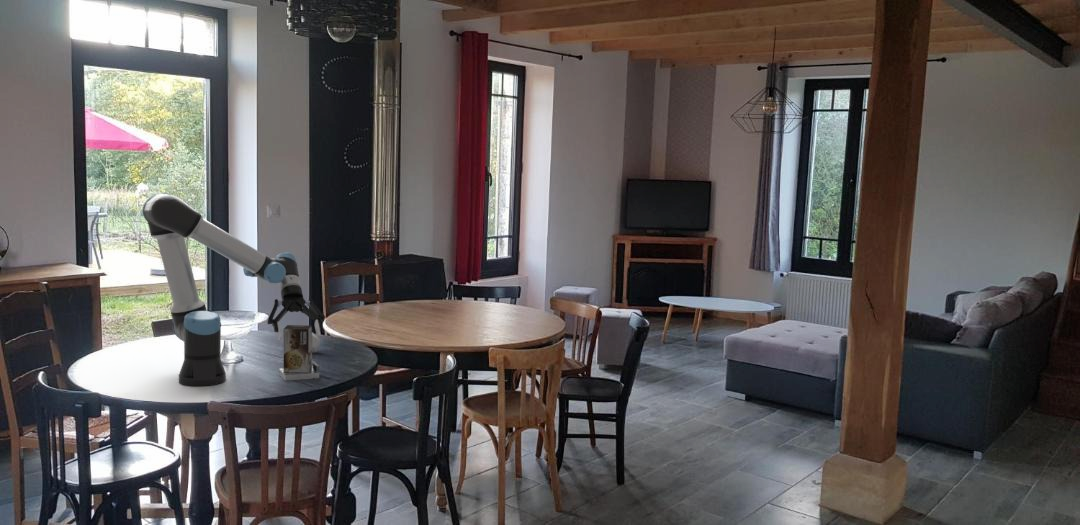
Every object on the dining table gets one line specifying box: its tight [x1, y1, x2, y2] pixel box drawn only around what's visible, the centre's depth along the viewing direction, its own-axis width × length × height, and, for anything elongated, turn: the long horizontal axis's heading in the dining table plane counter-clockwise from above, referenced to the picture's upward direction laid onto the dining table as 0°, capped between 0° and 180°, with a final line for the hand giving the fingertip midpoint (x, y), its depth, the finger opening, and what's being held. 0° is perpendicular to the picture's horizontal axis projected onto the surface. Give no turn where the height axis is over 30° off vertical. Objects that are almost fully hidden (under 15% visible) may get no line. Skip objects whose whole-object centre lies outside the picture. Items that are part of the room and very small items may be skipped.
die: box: [312, 332, 321, 354], centre depth 340 cm, size 8×9×10 cm
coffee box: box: [282, 324, 313, 373], centre depth 302 cm, size 9×6×16 cm
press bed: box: [278, 359, 320, 382], centre depth 303 cm, size 12×10×4 cm
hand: (300, 337), depth 301 cm, fingers open, 13 cm apart
